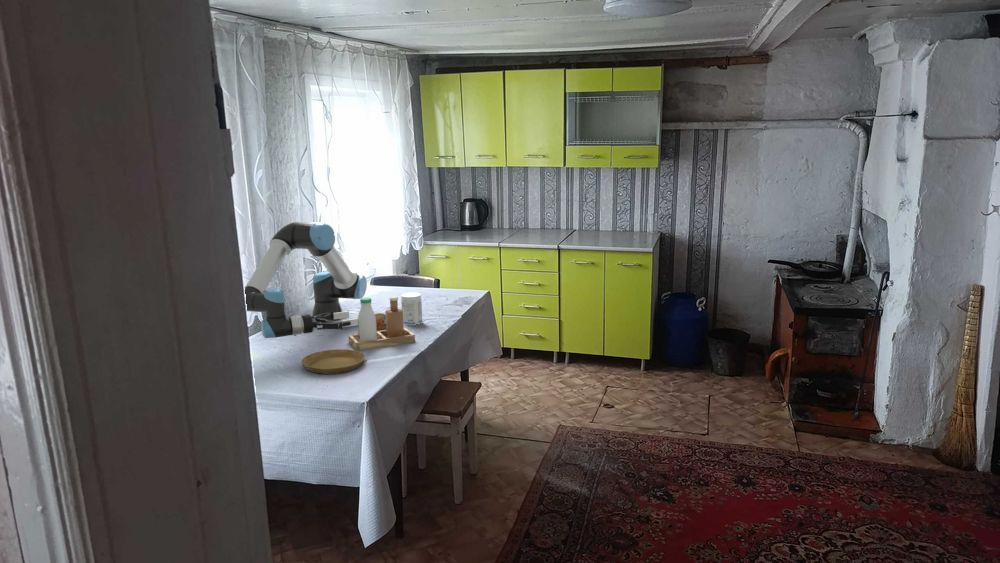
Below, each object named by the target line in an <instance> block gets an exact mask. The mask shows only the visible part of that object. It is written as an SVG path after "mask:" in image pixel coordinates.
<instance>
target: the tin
mask: <svg viewBox="0 0 1000 563" xmlns="http://www.w3.org/2000/svg"><path fill="white" fill-rule="evenodd" d="M375 316H376V328H377V331H379V330H382V329H383V330H384V329H386V314H385V313H381V312H376V313H375Z"/></svg>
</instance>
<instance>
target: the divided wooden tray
mask: <svg viewBox="0 0 1000 563" xmlns="http://www.w3.org/2000/svg"><path fill="white" fill-rule="evenodd" d="M415 342H416V334H415V333H413V332H412V331H410V330H409V329H408V328H406V326H404V336H399V337H392V338H387V336H386V329H383V330H382V329H381V330H377V340H371V341H364V342H359V336H358V333H356V334H355V333H354V334H348V343H349V344H350V345H351V346H352V347H353V348H354V349H355V351H363V350H370V349H376V348H377V349H378V348H382V347H388V346H389V347H390V346H397V345H402V344H408V343H409V344H410V343H415Z"/></svg>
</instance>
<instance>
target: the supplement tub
mask: <svg viewBox="0 0 1000 563" xmlns="http://www.w3.org/2000/svg"><path fill="white" fill-rule="evenodd" d="M400 297H401V298H400V300H401V301H400V303H401V305H400V306H401V309H402V310H403V321H404V326H417V325H416V324H418V325H421V324H423V307H422V306H423V302H422V294H421V293H420V292H405V293H402V294H401V296H400ZM420 323H421V324H420Z"/></svg>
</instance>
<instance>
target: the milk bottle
mask: <svg viewBox="0 0 1000 563" xmlns="http://www.w3.org/2000/svg"><path fill="white" fill-rule="evenodd" d="M359 300H360V302H359V303H360V309H359V312H358V314H357V315H358V316H357V319H358V325H357V332H358V333H357V334H358V336H359V342H364V341H371V340H377V331H378V330H377V328H376V316H375V314H376V313H375V311H374V309H373V308H372V298H371V297H363V298H361V299H359Z"/></svg>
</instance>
